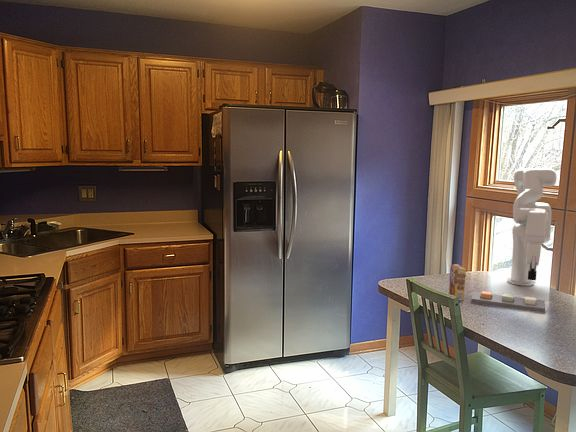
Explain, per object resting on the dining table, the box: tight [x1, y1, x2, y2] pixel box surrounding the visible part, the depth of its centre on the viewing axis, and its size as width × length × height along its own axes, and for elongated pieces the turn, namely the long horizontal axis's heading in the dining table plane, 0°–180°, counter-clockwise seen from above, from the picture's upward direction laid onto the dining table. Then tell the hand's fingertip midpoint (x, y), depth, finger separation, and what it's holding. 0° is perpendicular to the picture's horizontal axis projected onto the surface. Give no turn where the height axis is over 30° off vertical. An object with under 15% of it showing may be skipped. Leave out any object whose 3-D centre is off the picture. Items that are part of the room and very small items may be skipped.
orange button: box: [481, 290, 493, 299], centre depth 221 cm, size 4×4×2 cm
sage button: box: [502, 293, 514, 302], centre depth 217 cm, size 4×4×2 cm
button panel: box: [470, 291, 546, 314], centre depth 217 cm, size 12×30×2 cm, turn 64°
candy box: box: [448, 263, 467, 302], centre depth 224 cm, size 9×4×15 cm, turn 2°
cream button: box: [523, 295, 537, 305], centre depth 213 cm, size 4×4×2 cm
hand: (531, 279), depth 211 cm, fingers closed
